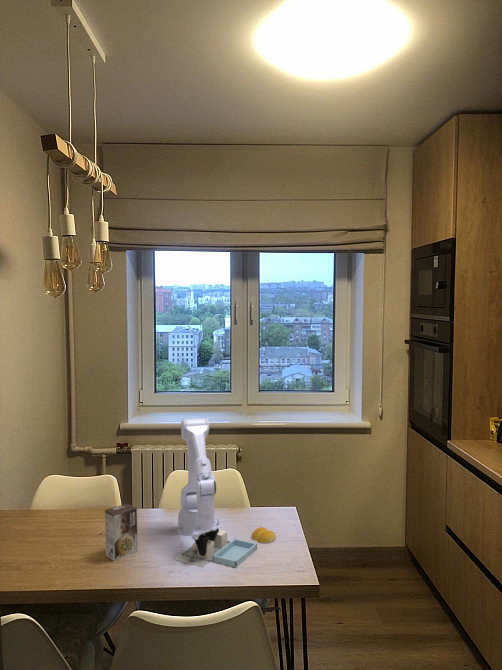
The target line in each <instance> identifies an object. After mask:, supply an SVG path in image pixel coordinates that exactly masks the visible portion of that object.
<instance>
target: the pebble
mask: <svg viewBox="0 0 502 670" xmlns="http://www.w3.org/2000/svg"><path fill="white" fill-rule="evenodd" d="M191 547H192V549H193V550H194V551H196V552H197V551H198V548H197V545H196V542H195V541H194V542H192V545H191Z"/></svg>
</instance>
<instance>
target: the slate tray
mask: <svg viewBox="0 0 502 670" xmlns="http://www.w3.org/2000/svg"><path fill="white" fill-rule="evenodd" d="M231 541H232V540H231ZM231 541H230V540H227V544H228V543H230V542H231ZM227 544H226V545H227ZM226 545H225V546H226ZM222 548H223V547H222ZM222 548H219V547H215V546H214V554H215V553H217V552H218V551H219V550H221V549H222ZM214 554H213V555H214ZM213 555H212V556H213ZM212 556H211V557H209V558H208V559H207V558H203V557H199V556H198V551H197V552H196V551H194V550H193V549H192V546H190V547H188V548H187V549H185V550H184V551H183V552H182V553H181V555H179V556H178V557H177V558H174V559H175V561H177V562H182V563H184V564H189V565H193V566H196V567H198V568H199V567H200V568H204V567H205V566H206V565H208V564H209V563H212V562H213V560H212Z"/></svg>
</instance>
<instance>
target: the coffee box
mask: <svg viewBox="0 0 502 670" xmlns="http://www.w3.org/2000/svg"><path fill="white" fill-rule="evenodd" d="M104 511H105V515H104V516H105V517H104V518H105V521H104V522H105V557H107V558H109V559H110V560H112V561H113V562H117V561H118V560H121V559H123V558H125V557H128V556H131V555H134V554H136V553H139V552H138V551H139V550H138V547H139V546H138V512H137V511H138V509H137V507H135V506H133V505H131V504H129V503H125V504H121V505H119V506H115V507H112V508H111V507H110V508H108V509H105V510H104Z"/></svg>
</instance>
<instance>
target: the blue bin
mask: <svg viewBox="0 0 502 670" xmlns="http://www.w3.org/2000/svg"><path fill="white" fill-rule="evenodd" d="M257 550H258V544H257V543H255V542H250V541H246V540H241V539H237V538H234V539H232V540H231V542H230V543H228V544H227V545H226V546H224V547H223V548H222V549H221V550H219V551H218V552H217V553H215V554H214V555H213V556H212V563H217V564H221V565H223V566H226V567H230V568H231V567H232V568H235V569H237V567H238V566H240V565H241V564H242V563H243V562H244V561H246V560H247V559H249V557H251V556H252V555H253V554H254V553H255V552H256V551H257Z"/></svg>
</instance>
